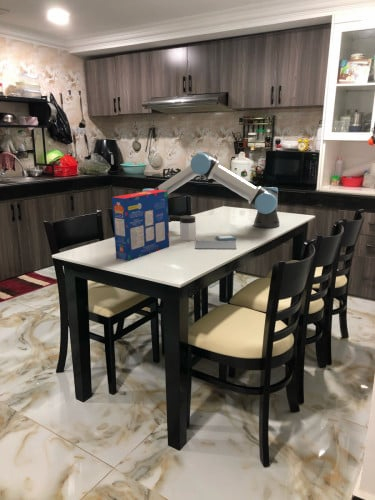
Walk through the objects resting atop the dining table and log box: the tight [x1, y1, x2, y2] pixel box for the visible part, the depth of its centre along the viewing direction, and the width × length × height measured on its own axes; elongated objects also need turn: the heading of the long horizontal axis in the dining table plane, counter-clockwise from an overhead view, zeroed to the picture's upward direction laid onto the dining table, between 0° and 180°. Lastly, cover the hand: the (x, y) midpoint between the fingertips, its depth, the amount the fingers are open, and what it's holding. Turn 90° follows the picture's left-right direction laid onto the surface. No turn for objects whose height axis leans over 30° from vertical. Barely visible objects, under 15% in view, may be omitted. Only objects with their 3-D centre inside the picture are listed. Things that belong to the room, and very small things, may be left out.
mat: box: [194, 240, 237, 250], centre depth 194 cm, size 20×14×1 cm
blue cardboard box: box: [111, 190, 170, 262], centre depth 181 cm, size 28×8×28 cm, turn 142°
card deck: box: [215, 234, 237, 241], centre depth 205 cm, size 9×6×2 cm
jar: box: [179, 215, 197, 242], centre depth 205 cm, size 9×8×12 cm
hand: (177, 223), depth 212 cm, fingers open, 13 cm apart
